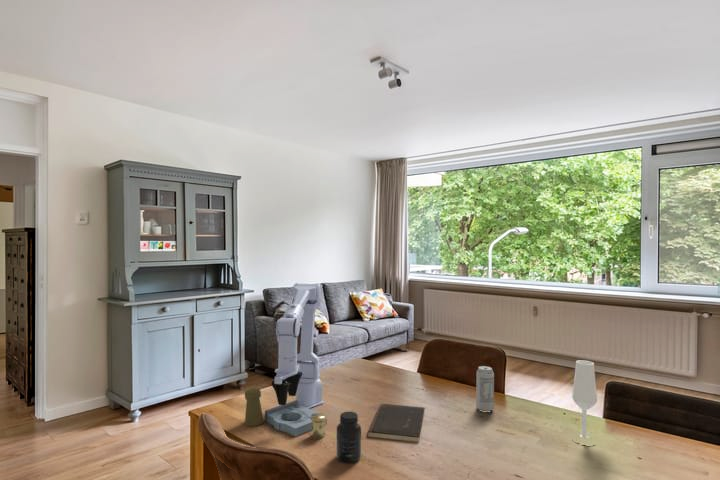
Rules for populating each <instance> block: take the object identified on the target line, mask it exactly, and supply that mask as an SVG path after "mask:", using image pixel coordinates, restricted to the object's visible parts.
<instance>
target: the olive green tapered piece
mask: <svg viewBox="0 0 720 480" xmlns="http://www.w3.org/2000/svg"><path fill="white" fill-rule="evenodd" d="M261 395H262V391H261V390H260V388H258V387H251V388H248V389H246V390H245V392H244V398H245V400H246V404H245V418H244V425H245V426H247V427H257V426H259V425H262V424H264V421H265V419H264V416H263V409H262V404H261V400H260V398H261Z"/></svg>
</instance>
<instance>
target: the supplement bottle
mask: <svg viewBox="0 0 720 480" xmlns="http://www.w3.org/2000/svg"><path fill="white" fill-rule="evenodd" d="M358 417H359V416H358V414H357V413H356V412H355V411H344V412H342V413H340V415H339V418H340V419H339V423H338V425H337V426H336V458H337V460H338V461H339V462H341V463H343V464H353V463H354V464H355V463H356V462H358V461H360V460H361V457H362V426H361V424H360V423H359V419H358Z"/></svg>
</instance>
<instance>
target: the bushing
mask: <svg viewBox="0 0 720 480" xmlns="http://www.w3.org/2000/svg"><path fill="white" fill-rule="evenodd" d="M326 419H327V420H328V415H327V414H326V413H323V412H318V413H315V414H312V415H311V420H312V430H311V436H312V438H313V439H316V440H317V439H318V440H320V439H324V438H325V437H326V424H325V420H326Z"/></svg>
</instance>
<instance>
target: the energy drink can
mask: <svg viewBox="0 0 720 480" xmlns="http://www.w3.org/2000/svg"><path fill="white" fill-rule="evenodd" d="M475 379H476V382H475V383H476V385H475V386H476V387H475V389H476V391H475V393H476V394H475V400H476V401H475V407H476V409H477V410H478V409H479V410H482V411H491V410H492V411H493V410H494V408H495V407H494V405H495V404H494V403H495V397H494V396H495V394H494V393H495V387H494V386H495V373H494V371H493V368H492V367H491V366H486V365H481V366H479V365H478V369H477V370H476V378H475ZM479 410H478V411H479Z"/></svg>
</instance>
